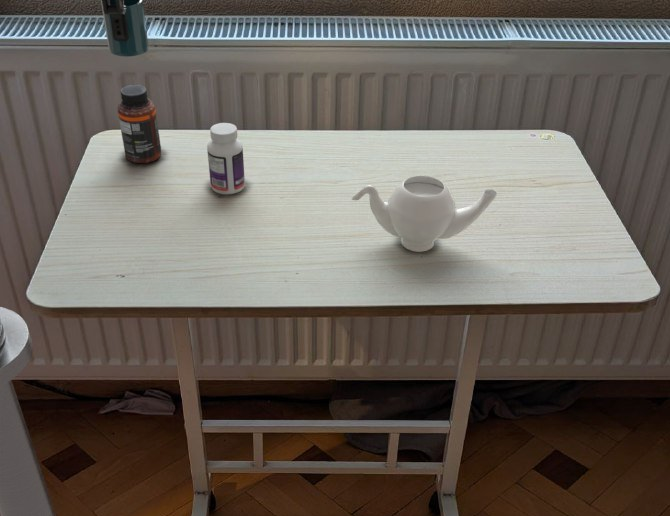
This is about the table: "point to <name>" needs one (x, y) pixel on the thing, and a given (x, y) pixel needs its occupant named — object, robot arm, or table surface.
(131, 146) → the supplement bottle
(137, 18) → the cup
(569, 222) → the table surface
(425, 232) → the teapot
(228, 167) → the pill bottle
